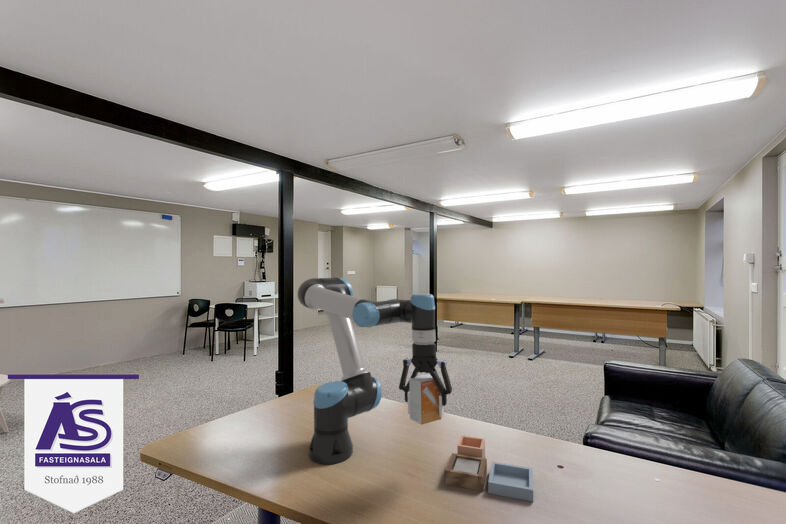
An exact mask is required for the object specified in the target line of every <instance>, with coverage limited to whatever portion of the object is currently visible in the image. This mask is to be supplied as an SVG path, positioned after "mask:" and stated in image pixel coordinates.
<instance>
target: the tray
mask: <svg viewBox="0 0 786 524" xmlns="http://www.w3.org/2000/svg"><path fill="white" fill-rule="evenodd" d="M490 465H491V466H490V469H489V475H488V482H487V485H488V486H487V487H488V491H487V493H488V494H492V495H497V496H501V497H502V496H503V497H506V498H513V499H518V500H523V501H529V502H534V477H533V476H534V474H533V467H529V466H528V467H527V466H520V465H516V464H515V465H514V464H511V463H510V464H509V463H502V462H496V461H491V464H490Z"/></svg>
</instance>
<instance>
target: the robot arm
mask: <svg viewBox="0 0 786 524" xmlns="http://www.w3.org/2000/svg"><path fill="white" fill-rule="evenodd" d="M296 295H297V299H298V301H299V303H300V305H302V306H303V307H304V308H308V309H311V310H318V309H319V310H321V311H322V313H323V315H324V316H327V318H328V322H329V327H330V330H331V333H332V337H333V342H334V344H335V350H336V352H337V356H338V360H339V364H340V368H341V371H342V377H341V379H340V380H336V381H328V382H326V383H323V384H321V385H319V386H318V387H317V388H316V390H315V391H314V395H313V435H312V438H311V441H310V445H309V448H308V457H309V459H310V460H311V461H312V462H315V463H317V464H322V465H323V464H324V465H330V464H332V465H333V464H338V463H340V462H341V463H342V462H344V461H346V460H348V459H350V458H351V456H352V455H353V452H354V451H353V450H354V448H353V447H354V446H353V445H354V444H353V442H352V439H351V435H350V432H349V425H348V424H349V423H348V421H349V419H350V418H353V417H356V416H359V415H361V414H364V413H367V412H370V411H371V410H374V409H375V408H377V407H378V406H379V405H380V403H381V400H382V396H383V395H382V394H383V392H382V391H383V390H382V385H381V382H380V381H379V379H377V377H374V376H372V374H371V371H370V370H368V369H367V368H366V367H365V364H364V363H365V362H364V361H363V356H362V354H361V349H360V346H359V343H358V338H357V336H356V333H355V330H354V325H353V323H354V324H356V326H357V327H358V328H372V327H377V326H381V325H389V324H396V323H410V324H411V339H412V340H411V342H413V343H412V344H411V345H412V346H411V347H412V348H411V350H412V352H411V353H412V356H411V358H408V357H406V358H404V359H403V360H402V365H403V369H402V372H401V377H400V381H399V386H398V389H399V390H400V391H403V392H404V401H405V403H407V414H409V415H410V386H409V380H408V381H407V378H408V373H409V369H410V366H411V364H412V365H413V367H414V369H413V371H412V374H411V375H410V377H409V378H415V377H417V376H418V374H419V373H425V374H430V375H431V376H432V378H433V379H434V381H435V383H436V385H437V387H438V389H439V391H440V393H441V394H440V395H439V413H440V417H441V418H443V416H444V415H445V410H444V409H445V406H447V403H448V401H447V399H448V397H447V395H451V393H452V392H453V388H452V383H451V380H450V377H449V373H448V369H447V360H445V359H443V360H438V358H437V344H436V343H435V342H436V341H437V338H436V337H437V336H436V304H435V297H434V295H433V294H431V293H414V294H412V295H411V296H410V299H399V298H394V299H393V298H391V299H387V300H381V301H380V300H379V301H372V300H369V299H364V298H362V297H357V296H354V290H353V287H352V285H351V283H350V282H349V281H348V280H347V279H345V278H343V277H335V276H334V277H322V278H321V277H320V278H319V277H313V278H309V279H306V280H304V281H303V282H302V283H301V284H300V285H299V287H298V290H297V294H296ZM352 321H353V322H352ZM436 366H438V367H439V369H440V372H441V376H442V379H443V380H442V379H440V378H441V377H440V376H439V374H438V373H437V372H438V371H437V369H436ZM406 382H407V383H406Z"/></svg>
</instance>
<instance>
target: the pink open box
mask: <svg viewBox="0 0 786 524" xmlns="http://www.w3.org/2000/svg"><path fill="white" fill-rule="evenodd" d="M459 438H460V439H458V443H457V445H456V446H457V448H456V449H457V454H461V455H467V456H473V457H479V458H486V438H482V437H478V436H477V437H476V436H469V435H468V436H467V435H463V434H462V435H460V437H459Z"/></svg>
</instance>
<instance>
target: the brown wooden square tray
mask: <svg viewBox="0 0 786 524" xmlns="http://www.w3.org/2000/svg"><path fill="white" fill-rule="evenodd" d="M457 458H461V459H467V460H473V461H479V462H480V467H479V471H478V474H474V473H468V472H462V471H457V470H453V469H454V466H455V463H456V461H457ZM487 460H488V458H486V457H485V458H479V457H473V456H467V455H461V454H458V453H453V452H451V455H450V457H449V460H448V462H447V465H446V467H445V473H444V477H445V480H444V481H445V483H444V484H445V485H448V486H454V487H455V486H456V487H461V488H465V489H471V490H475V491H481V492H484V488H485V483H486V478H487V474H488V461H487Z"/></svg>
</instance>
